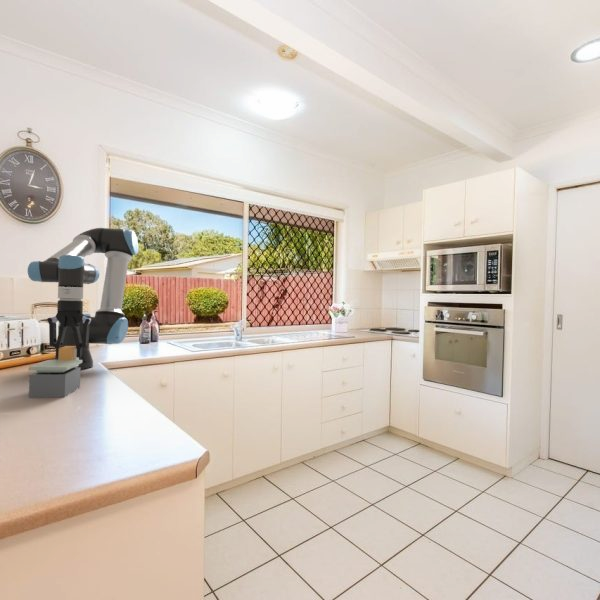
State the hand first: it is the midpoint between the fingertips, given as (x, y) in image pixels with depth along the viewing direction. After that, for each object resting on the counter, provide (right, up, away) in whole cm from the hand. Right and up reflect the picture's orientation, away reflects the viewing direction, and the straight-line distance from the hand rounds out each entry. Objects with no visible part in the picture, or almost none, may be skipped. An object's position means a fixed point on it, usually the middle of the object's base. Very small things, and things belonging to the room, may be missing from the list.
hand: (68, 366), depth 129 cm
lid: (+1, +1, -6) cm, 6 cm away
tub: (+2, -7, -9) cm, 11 cm away
